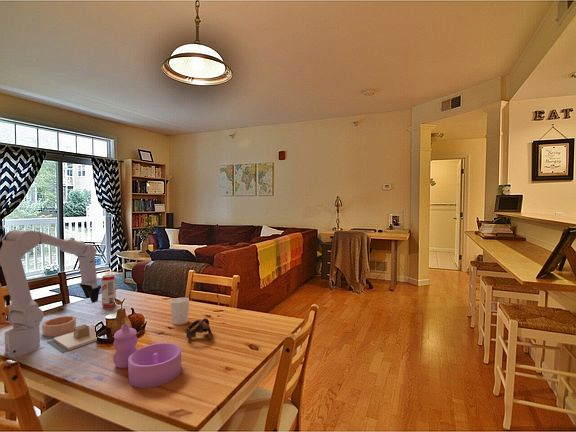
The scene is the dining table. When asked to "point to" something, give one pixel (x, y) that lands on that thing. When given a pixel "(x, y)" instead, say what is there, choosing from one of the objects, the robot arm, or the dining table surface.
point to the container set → (146, 359)
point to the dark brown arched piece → (199, 328)
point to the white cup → (179, 310)
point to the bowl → (59, 326)
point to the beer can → (108, 291)
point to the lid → (77, 337)
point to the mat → (63, 347)
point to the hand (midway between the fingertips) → (92, 299)
